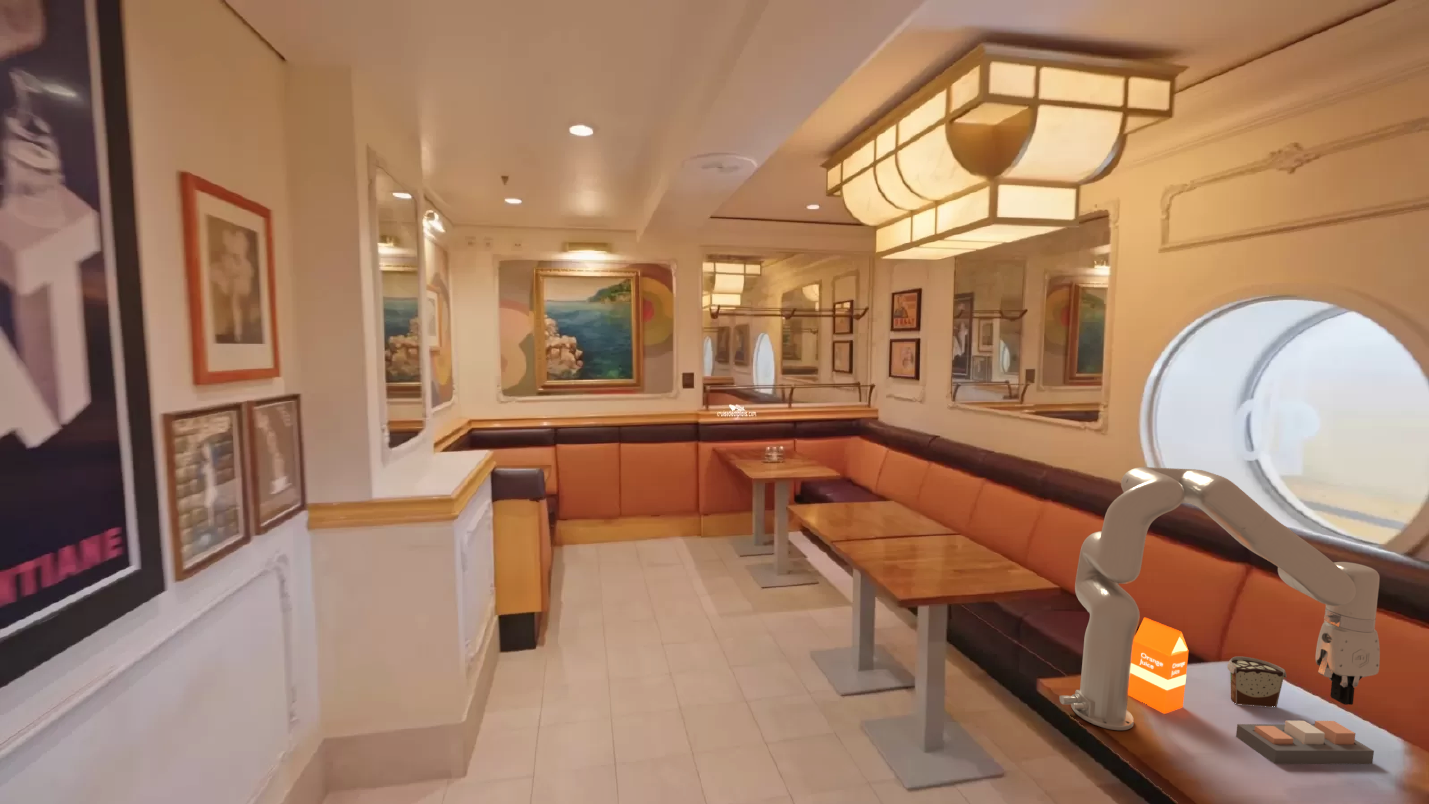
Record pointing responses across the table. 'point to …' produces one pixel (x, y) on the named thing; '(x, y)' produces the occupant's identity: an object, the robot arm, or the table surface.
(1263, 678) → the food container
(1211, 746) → the table surface
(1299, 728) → the middle button
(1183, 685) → the orange juice
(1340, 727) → the outer button
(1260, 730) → the inner button
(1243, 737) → the control panel
